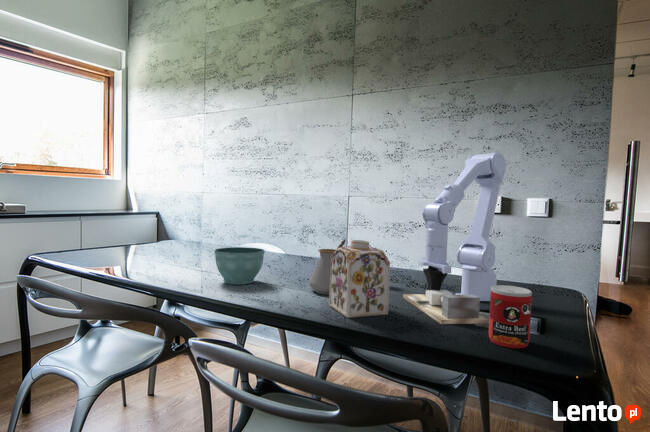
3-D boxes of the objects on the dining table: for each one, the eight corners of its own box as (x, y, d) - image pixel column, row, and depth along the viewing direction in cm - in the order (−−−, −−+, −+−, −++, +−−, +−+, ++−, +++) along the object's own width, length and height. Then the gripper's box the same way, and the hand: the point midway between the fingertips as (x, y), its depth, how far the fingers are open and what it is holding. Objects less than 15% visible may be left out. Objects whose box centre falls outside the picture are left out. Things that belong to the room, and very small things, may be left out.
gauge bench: (441, 297, 117) (441, 277, 117) (488, 323, 92) (489, 298, 92) (403, 297, 115) (403, 277, 115) (441, 324, 90) (442, 298, 90)
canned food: (489, 345, 78) (491, 290, 77) (487, 333, 85) (490, 283, 85) (531, 351, 75) (535, 295, 74) (526, 338, 82) (529, 287, 82)
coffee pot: (338, 298, 112) (340, 246, 111) (302, 293, 116) (304, 243, 116) (359, 284, 132) (361, 240, 131) (328, 280, 136) (330, 238, 135)
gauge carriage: (445, 301, 107) (446, 290, 107) (463, 310, 98) (464, 299, 98) (414, 301, 106) (414, 290, 106) (429, 311, 96) (429, 299, 96)
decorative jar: (328, 305, 103) (330, 238, 102) (366, 303, 107) (369, 238, 107) (347, 319, 92) (350, 243, 91) (389, 315, 96) (392, 243, 96)
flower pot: (204, 280, 129) (205, 248, 128) (247, 275, 139) (248, 245, 139) (228, 290, 117) (229, 254, 116) (273, 283, 128) (274, 251, 127)
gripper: (412, 243, 114) (410, 288, 115) (434, 249, 100) (431, 301, 100) (435, 243, 115) (433, 288, 116) (459, 249, 101) (457, 301, 101)
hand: (434, 294), depth 108 cm, fingers closed
